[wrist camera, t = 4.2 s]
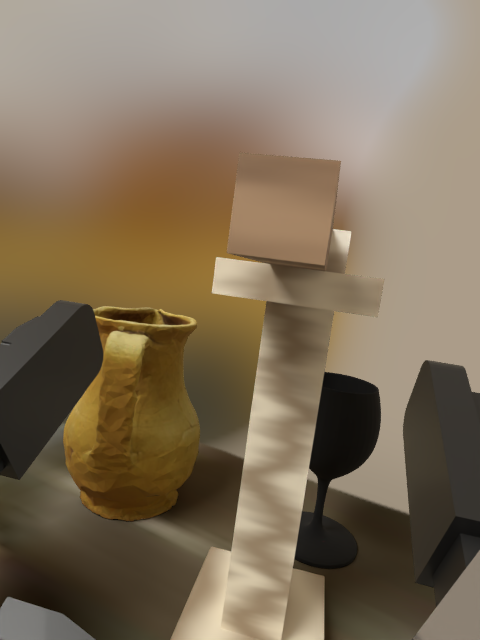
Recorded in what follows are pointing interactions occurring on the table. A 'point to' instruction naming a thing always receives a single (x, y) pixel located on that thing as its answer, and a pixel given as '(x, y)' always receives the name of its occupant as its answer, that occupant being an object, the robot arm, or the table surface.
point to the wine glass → (337, 463)
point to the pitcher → (134, 417)
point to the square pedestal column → (275, 458)
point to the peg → (287, 213)
